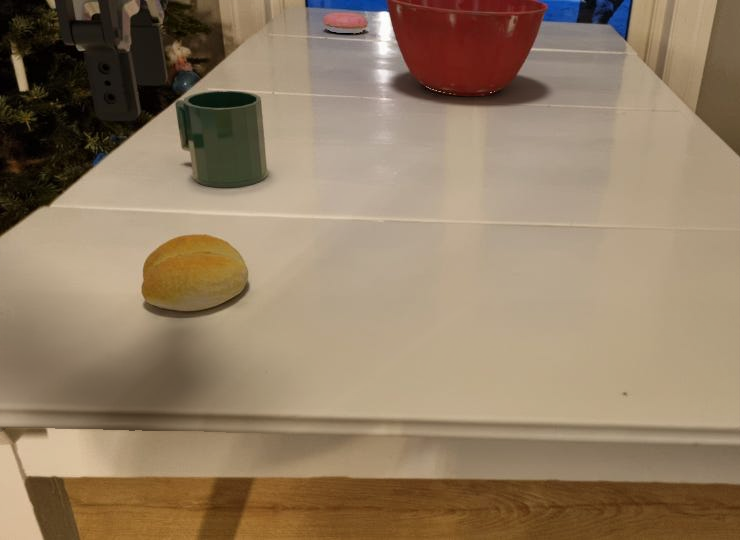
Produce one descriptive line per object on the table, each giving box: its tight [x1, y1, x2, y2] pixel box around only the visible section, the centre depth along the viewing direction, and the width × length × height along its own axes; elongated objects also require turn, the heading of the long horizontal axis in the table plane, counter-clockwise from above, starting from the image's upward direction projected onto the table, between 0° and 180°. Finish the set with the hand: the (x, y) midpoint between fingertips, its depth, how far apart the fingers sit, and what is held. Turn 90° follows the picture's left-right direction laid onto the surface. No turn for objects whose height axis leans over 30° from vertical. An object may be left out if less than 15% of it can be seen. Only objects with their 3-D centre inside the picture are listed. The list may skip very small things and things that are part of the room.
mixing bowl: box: [386, 0, 549, 97], centre depth 126 cm, size 28×28×16 cm
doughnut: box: [322, 11, 369, 35], centre depth 175 cm, size 11×11×4 cm
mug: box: [175, 90, 268, 189], centre depth 83 cm, size 12×8×9 cm
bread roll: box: [141, 233, 249, 312], centre depth 59 cm, size 8×9×4 cm
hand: (136, 100), depth 44 cm, fingers open, 8 cm apart
